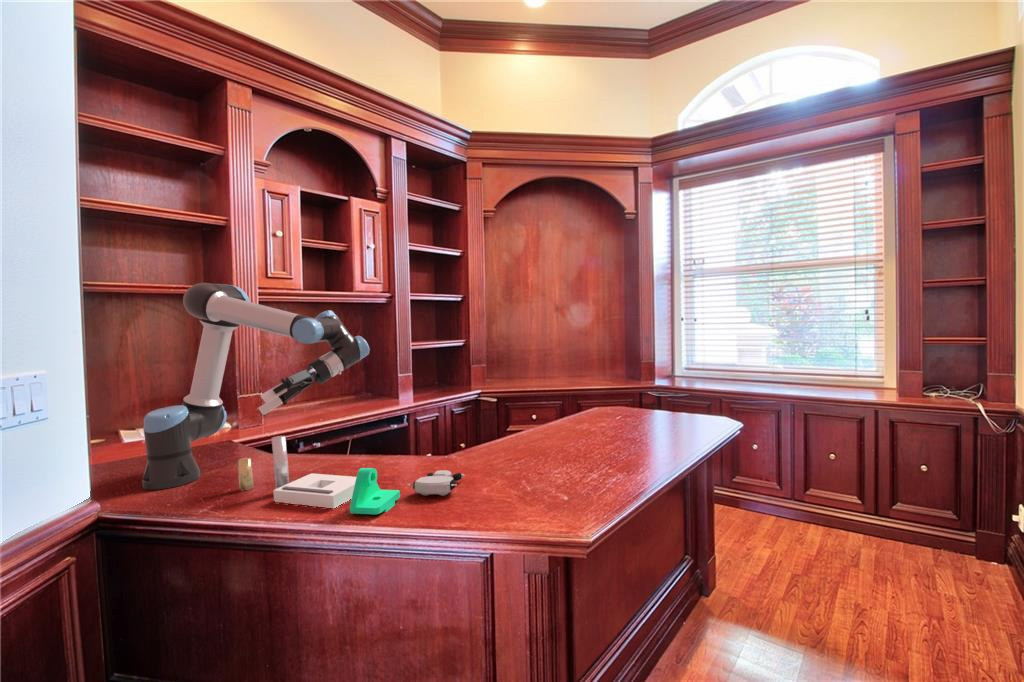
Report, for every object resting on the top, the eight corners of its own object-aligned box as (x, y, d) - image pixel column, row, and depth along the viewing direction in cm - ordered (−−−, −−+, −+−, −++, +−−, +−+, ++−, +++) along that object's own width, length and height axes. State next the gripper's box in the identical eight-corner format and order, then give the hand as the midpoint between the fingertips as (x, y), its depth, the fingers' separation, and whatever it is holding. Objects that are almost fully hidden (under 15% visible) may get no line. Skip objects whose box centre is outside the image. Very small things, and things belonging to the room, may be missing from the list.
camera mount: (378, 519, 117) (375, 477, 116) (350, 517, 119) (347, 476, 118) (401, 499, 129) (399, 461, 128) (375, 498, 131) (373, 461, 130)
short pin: (242, 487, 145) (239, 458, 145) (255, 486, 146) (252, 456, 146) (238, 492, 142) (235, 461, 141) (251, 490, 143) (249, 460, 142)
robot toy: (426, 484, 142) (407, 499, 128) (426, 468, 143) (406, 482, 128) (467, 484, 140) (452, 500, 126) (466, 468, 141) (451, 482, 126)
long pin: (277, 491, 140) (273, 436, 140) (291, 489, 141) (286, 435, 140) (274, 495, 137) (270, 439, 136) (288, 493, 138) (284, 438, 137)
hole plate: (274, 502, 131) (273, 488, 131) (312, 484, 144) (311, 472, 144) (334, 509, 124) (332, 494, 124) (368, 489, 137) (367, 476, 137)
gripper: (339, 364, 145) (272, 404, 133) (325, 388, 165) (266, 425, 153) (323, 344, 145) (256, 382, 133) (312, 371, 165) (252, 406, 153)
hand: (261, 405), depth 143 cm, fingers open, 13 cm apart
